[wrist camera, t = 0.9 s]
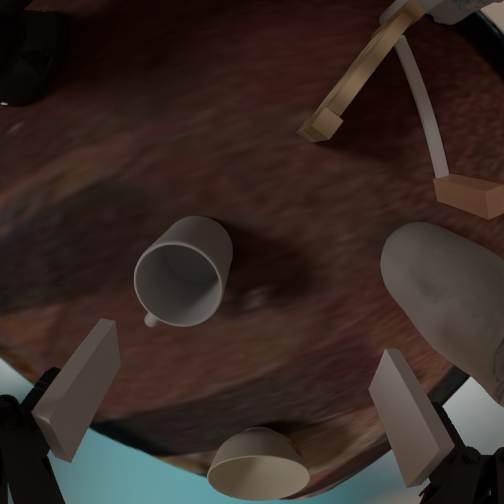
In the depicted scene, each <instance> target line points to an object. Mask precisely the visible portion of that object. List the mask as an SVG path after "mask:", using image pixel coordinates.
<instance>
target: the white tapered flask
mask: <svg viewBox="0 0 504 504" xmlns="http://www.w3.org/2000/svg"><path fill="white" fill-rule="evenodd" d="M380 267H381V273H382V277H383V280H384V283H385V286H386V288H387V290H388V291H389V293H390V294H391V296H392V297H393V298H394V299H395V301H396V302H397V303H398V304H399V305H400V307H401V308H402V309H403V310H404V312H405V313H406V314H407V316H408V317H409V318H410V320H411V321H412V323H413V324H414V326H415V327H416V328H417V329H418V331H419V332H420V333H421V335H422V336H423V337H424V339H425V340H426V341H427V342H428V343H429V344H430V345H431V346H432V347H433V348H434V349H435V350H436V351H437V352H438V353H439V354H440V355H442V356H443V357H444V358H446V359H447V360H449V361H450V362H451V363H453V364H454V365H455V366H457V367H458V368H460V369H461V370H463V371H464V372H466V373H467V374H469V375H470V376H471V377H473V378H474V379H475V380H476V381H477V382H478V383H479V384H480V385H481V386H482V387H483V388H484V389H485V390H486V392H487V393H488V394H489V395H490V396H491V397H492V398H493V400H495V401H496V402H497V403H498V404H500V405H501V406H502V407H504V260H503V259H502V258H500V257H499V256H498V255H496V254H495V253H493V252H491V251H490V250H488V249H486V248H484V247H482V246H481V245H478V244H477V243H475V242H472V241H470V240H468V239H466V238H464V237H461V236H459V235H457V234H455V233H453V232H451V231H449V230H447V229H445V228H443V227H440V226H437V225H434V224H431V223H426V222H412V223H409V224H406V225H404V226H402V227H400V228H398V229H397V230H395V231H394V232H393V233H392V234H391V235H390V236H389V237H388V238H387V240H386V243H385V245H384V247H383V250H382V255H381V262H380Z"/></svg>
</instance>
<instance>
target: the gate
mask: <svg viewBox="0 0 504 504" xmlns="http://www.w3.org/2000/svg"><path fill="white" fill-rule="evenodd" d="M425 11H426V10H424V9H423V8H422V7H421V6H420V5H419V4H417V3H416V2H415V1H414V0H409V1H408V2H407V3H405V4H404V5H403V6H402V7H401V8H400V9H399V10H398V11H396V12H395V13H394V14H393V15H392V16H391V17H390V18H389V19H388V20H387V21H385V22H384V23H383V24H382V25H381V26H380V27H379V28H378V29H377V30H376V31H375V32H374V33H373V35H372V36H371V38H372V40H371V41H370V42H369V44H368V45H367V46H366V47H365V49H364V50H363V51H362V52H361V54H360V55H359V56H358V58H357V59H356V60H355V61H354V63H353V64H352V65H351V66H350V68H349V69H348V70H347V72H346V73H345V74H344V75H343V77H342V78H341V79H340V80H339V82H338V83H337V84H336V86H335V87H334V88H333V90H332V91H331V92H330V93H329V95H328V96H327V97H326V99H325V100H324V101H323V103H322V104H321V105H320V106H319V108H318V109H317V110H316V112H315V113H314V114H313V115H312V116H311V117H309V118H308V119H306V120H305V122H304V123H303V124H302V126H301V127H300V128H299V130H298V131H297V132H296V134H297V135H299V136H300V137H301V138H303V139H304V140H305V141H307V142H308V143H312V142H318V141H324V140H330V138H331V137H332V135H333V134H334V133H335V131H336V130H337V129H338V127H339V126H340V125H341V123H342V122H343V120H342V119H341V118H339V117H340V116H341V114H342V113H343V112H344V110H345V109H346V108H347V106H348V105H349V104H350V102H351V101H352V100H353V98H354V97H355V96H356V94H357V93H358V92H359V90H360V89H361V88H362V86H363V85H364V84H365V82H366V81H367V80H368V78H369V77H370V76H371V74H372V73H373V72H374V70H375V69H376V68H377V66H378V65H379V64H380V62H381V61H382V60H383V59H384V57H385V56H386V55H387V53H388V52H389V51H390V49H391V48H392V47H393V45H394V44H395V43H396V41H397V40H398V39H399V38H400V36H401V35H402V34H403V32H404V31H405V30H406V29H407V28H408V27H409V26H411V25H412V24H414V23H415V22H416V21H418V20H419V19H420V18H421V17H422V15H423V14H424V13H425Z"/></svg>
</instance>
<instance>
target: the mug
mask: <svg viewBox="0 0 504 504" xmlns="http://www.w3.org/2000/svg"><path fill="white" fill-rule="evenodd" d="M232 257H233V246H232V242H231V239H230V237H229V235H228V233H227V232H226V230H225V229H224V228H223V227H222V226H221V225H220V224H219V223H218V222H216V221H214V220H212V219H210V218H207V217H203V216H189V217H186V218H183V219H181V220H179V221H177V222H176V223H175V224H173V225H172V226H171V227H170V228H169V229H168V231H167V232H165V233H164V234H163V235H162V236H161V237H160V238H159V239H158V240H157V241H156V242H155V243H154V244H153V245H151V246H150V247H149V248H148V249H147V250H146V251H145V252H144V253H143V255H142V256H141V258H140V259H139V261H138V263H137V265H136V268H135V273H134V285H135V290H136V293H137V296H138V298H139V300H140V302H141V303H142V305H143V306H144V307H145V309H146V310H147V311H148V314H147V315H146V317H145V323H146V324H147V325H148V326H150V327H155V326H156V325H157V324H158V323H159V321H162V322H164V323H167V324H170V325H174V326H193V325H197V324H199V323H202V322H204V321H205V320H207V319H208V318H210V317H211V316H212V315H213V314H214V313H215V312H216V310H217V309H218V307H219V306H220V304H221V301H222V298H223V295H224V291H225V286H226V282H227V277H228V273H229V269H230V265H231V262H232Z"/></svg>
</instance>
